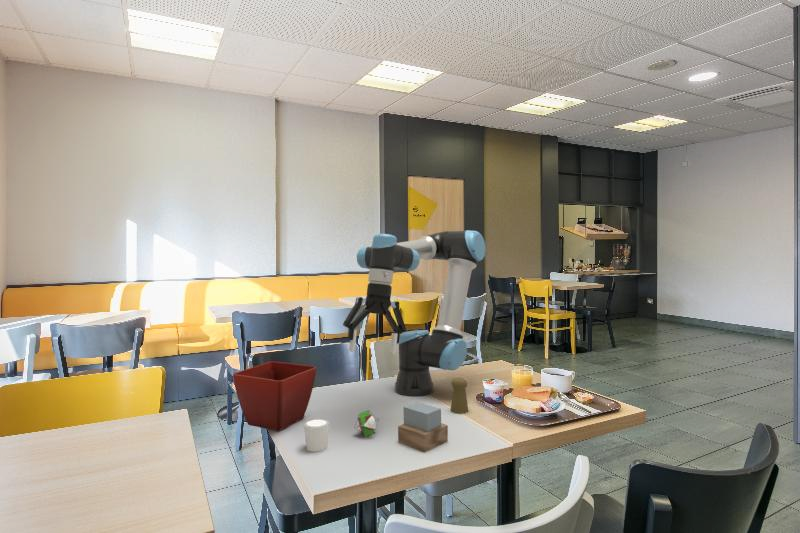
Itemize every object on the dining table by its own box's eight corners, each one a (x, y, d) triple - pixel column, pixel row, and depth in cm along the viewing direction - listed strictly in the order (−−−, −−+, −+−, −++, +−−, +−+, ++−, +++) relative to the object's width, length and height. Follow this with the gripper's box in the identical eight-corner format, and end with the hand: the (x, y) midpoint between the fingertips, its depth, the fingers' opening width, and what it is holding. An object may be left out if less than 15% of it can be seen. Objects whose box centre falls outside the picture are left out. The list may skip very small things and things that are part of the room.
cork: (471, 412, 161) (471, 379, 161) (455, 414, 159) (455, 381, 158) (462, 406, 167) (462, 375, 166) (447, 409, 165) (447, 377, 164)
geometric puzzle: (346, 425, 144) (356, 408, 141) (363, 419, 149) (373, 402, 146) (359, 445, 140) (370, 427, 137) (376, 438, 146) (387, 421, 142)
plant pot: (318, 416, 158) (318, 365, 158) (281, 437, 141) (280, 380, 140) (272, 408, 166) (271, 360, 166) (231, 427, 149) (230, 374, 148)
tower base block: (421, 433, 144) (421, 416, 144) (447, 442, 137) (447, 425, 137) (398, 443, 137) (398, 426, 137) (424, 453, 130) (424, 435, 130)
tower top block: (417, 418, 143) (417, 401, 142) (441, 426, 136) (441, 408, 136) (403, 424, 138) (403, 406, 138) (427, 432, 132) (427, 414, 132)
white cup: (302, 444, 136) (302, 420, 135) (326, 441, 138) (326, 417, 138) (306, 454, 129) (306, 428, 129) (331, 450, 132) (331, 425, 131)
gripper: (346, 278, 140) (337, 351, 138) (420, 288, 151) (414, 356, 149) (337, 279, 147) (329, 348, 145) (409, 288, 158) (403, 353, 156)
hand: (372, 352), depth 147 cm, fingers open, 13 cm apart
